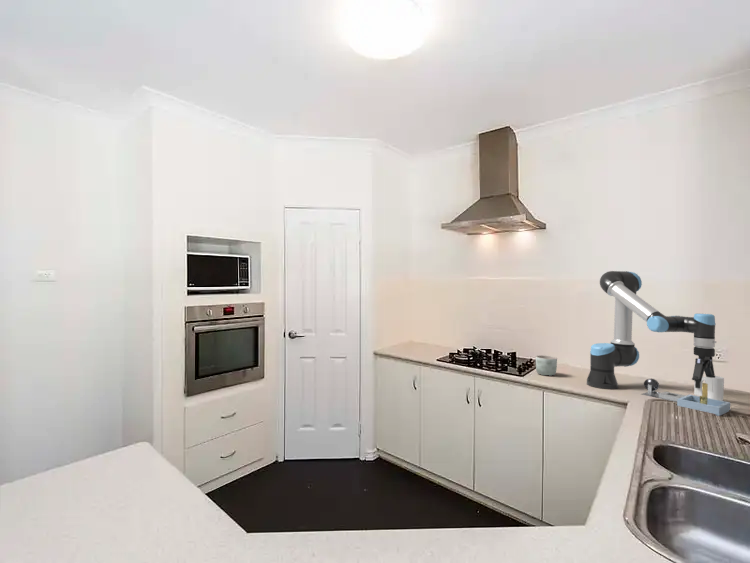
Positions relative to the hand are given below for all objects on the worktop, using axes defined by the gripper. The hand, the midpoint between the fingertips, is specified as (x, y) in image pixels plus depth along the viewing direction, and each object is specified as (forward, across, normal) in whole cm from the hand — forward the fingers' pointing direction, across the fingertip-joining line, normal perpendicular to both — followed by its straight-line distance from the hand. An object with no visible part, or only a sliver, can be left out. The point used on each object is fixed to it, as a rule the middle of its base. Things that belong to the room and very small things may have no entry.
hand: (703, 393), depth 180 cm
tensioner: (+7, +4, +17) cm, 19 cm away
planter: (+7, 0, +79) cm, 79 cm away
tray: (+7, 0, 0) cm, 7 cm away
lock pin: (+6, 0, 0) cm, 6 cm away
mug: (+7, +21, +3) cm, 22 cm away
